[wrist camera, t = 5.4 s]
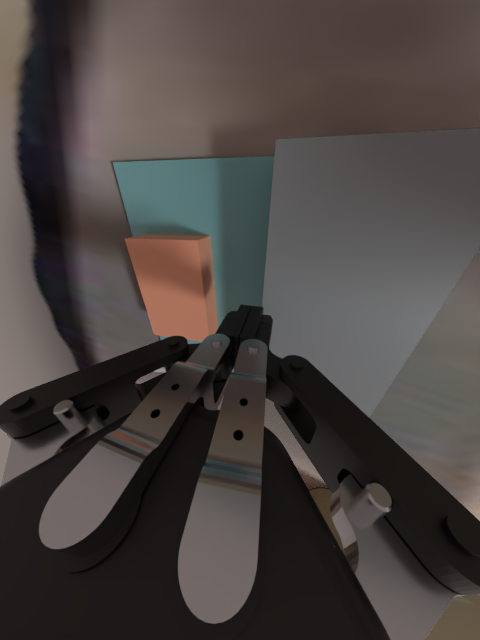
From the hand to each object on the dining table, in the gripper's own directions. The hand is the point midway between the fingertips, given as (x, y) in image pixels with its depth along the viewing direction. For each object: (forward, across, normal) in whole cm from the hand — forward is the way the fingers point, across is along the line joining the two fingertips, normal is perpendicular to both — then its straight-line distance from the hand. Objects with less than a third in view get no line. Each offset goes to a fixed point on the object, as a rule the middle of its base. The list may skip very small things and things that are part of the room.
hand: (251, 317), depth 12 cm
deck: (+5, -6, 0) cm, 8 cm away
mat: (+5, +6, 0) cm, 8 cm away
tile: (+4, +7, 0) cm, 8 cm away
